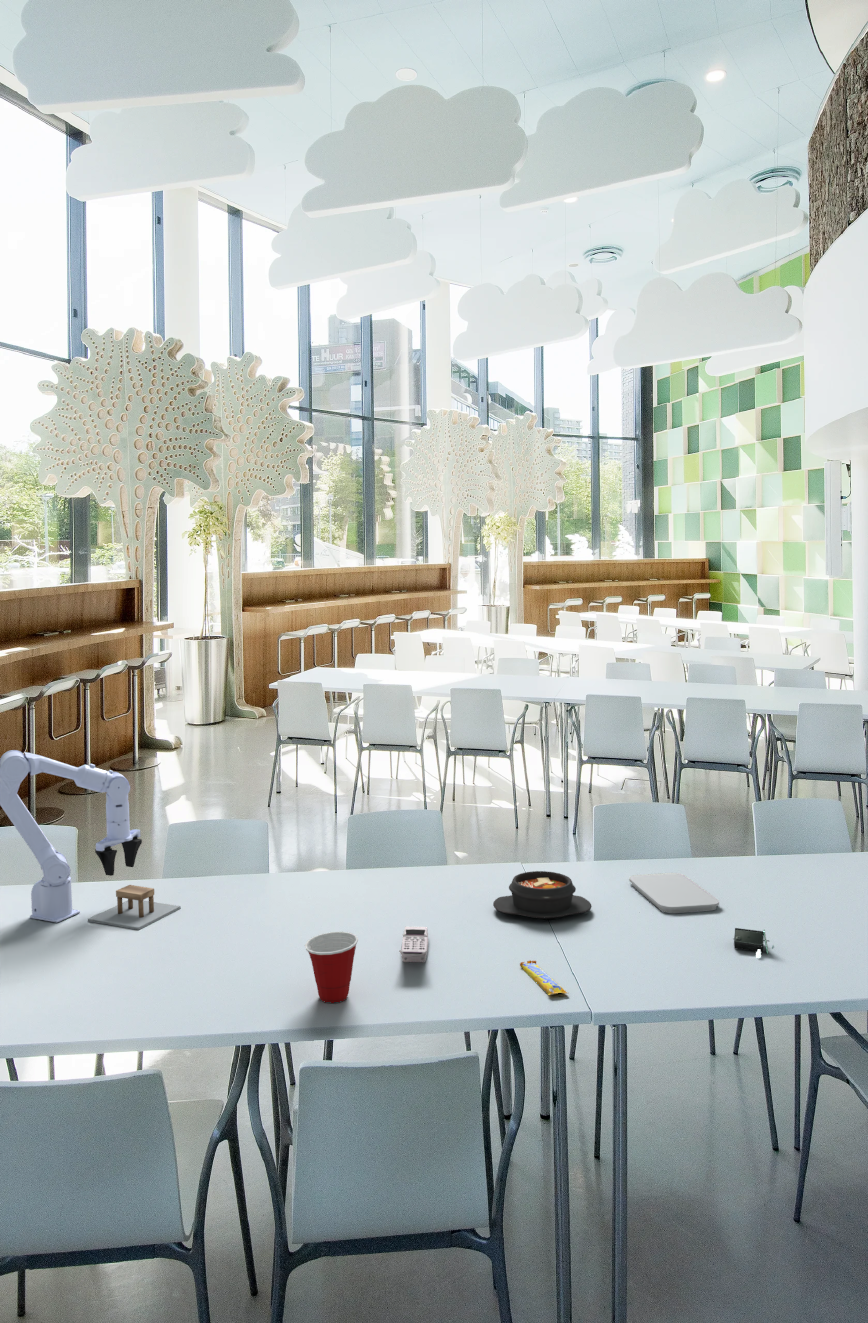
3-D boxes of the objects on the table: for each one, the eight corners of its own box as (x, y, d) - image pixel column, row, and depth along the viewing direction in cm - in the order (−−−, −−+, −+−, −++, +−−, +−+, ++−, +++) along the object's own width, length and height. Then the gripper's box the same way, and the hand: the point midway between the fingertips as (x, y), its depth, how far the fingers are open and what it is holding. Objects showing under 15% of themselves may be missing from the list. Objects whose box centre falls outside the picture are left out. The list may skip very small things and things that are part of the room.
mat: (87, 921, 231) (87, 918, 231) (131, 900, 246) (131, 898, 246) (138, 930, 225) (138, 927, 225) (180, 908, 240) (180, 906, 240)
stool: (141, 918, 232) (140, 894, 231) (116, 913, 235) (115, 890, 234) (155, 911, 236) (154, 888, 236) (130, 907, 239) (129, 884, 239)
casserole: (496, 926, 226) (496, 892, 225) (490, 900, 244) (490, 869, 244) (597, 924, 226) (598, 891, 226) (584, 898, 245) (584, 867, 244)
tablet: (680, 880, 260) (680, 872, 260) (723, 912, 235) (723, 903, 235) (625, 883, 258) (625, 875, 258) (663, 916, 232) (663, 907, 232)
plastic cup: (307, 987, 192) (305, 931, 191) (359, 984, 193) (358, 929, 192) (304, 1011, 182) (302, 951, 181) (359, 1008, 183) (358, 949, 182)
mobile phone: (398, 951, 196) (404, 909, 221) (398, 978, 197) (403, 933, 222) (427, 952, 196) (429, 909, 221) (426, 978, 197) (428, 933, 222)
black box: (711, 956, 207) (711, 933, 207) (716, 933, 221) (717, 910, 221) (782, 966, 202) (783, 942, 201) (783, 941, 216) (784, 918, 215)
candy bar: (517, 968, 202) (517, 960, 202) (535, 966, 203) (535, 958, 203) (549, 1001, 186) (549, 992, 186) (568, 998, 187) (568, 990, 187)
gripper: (110, 828, 232) (112, 880, 233) (148, 814, 245) (150, 864, 247) (88, 825, 235) (90, 877, 236) (127, 812, 248) (129, 861, 249)
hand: (119, 870), depth 241 cm, fingers open, 7 cm apart
